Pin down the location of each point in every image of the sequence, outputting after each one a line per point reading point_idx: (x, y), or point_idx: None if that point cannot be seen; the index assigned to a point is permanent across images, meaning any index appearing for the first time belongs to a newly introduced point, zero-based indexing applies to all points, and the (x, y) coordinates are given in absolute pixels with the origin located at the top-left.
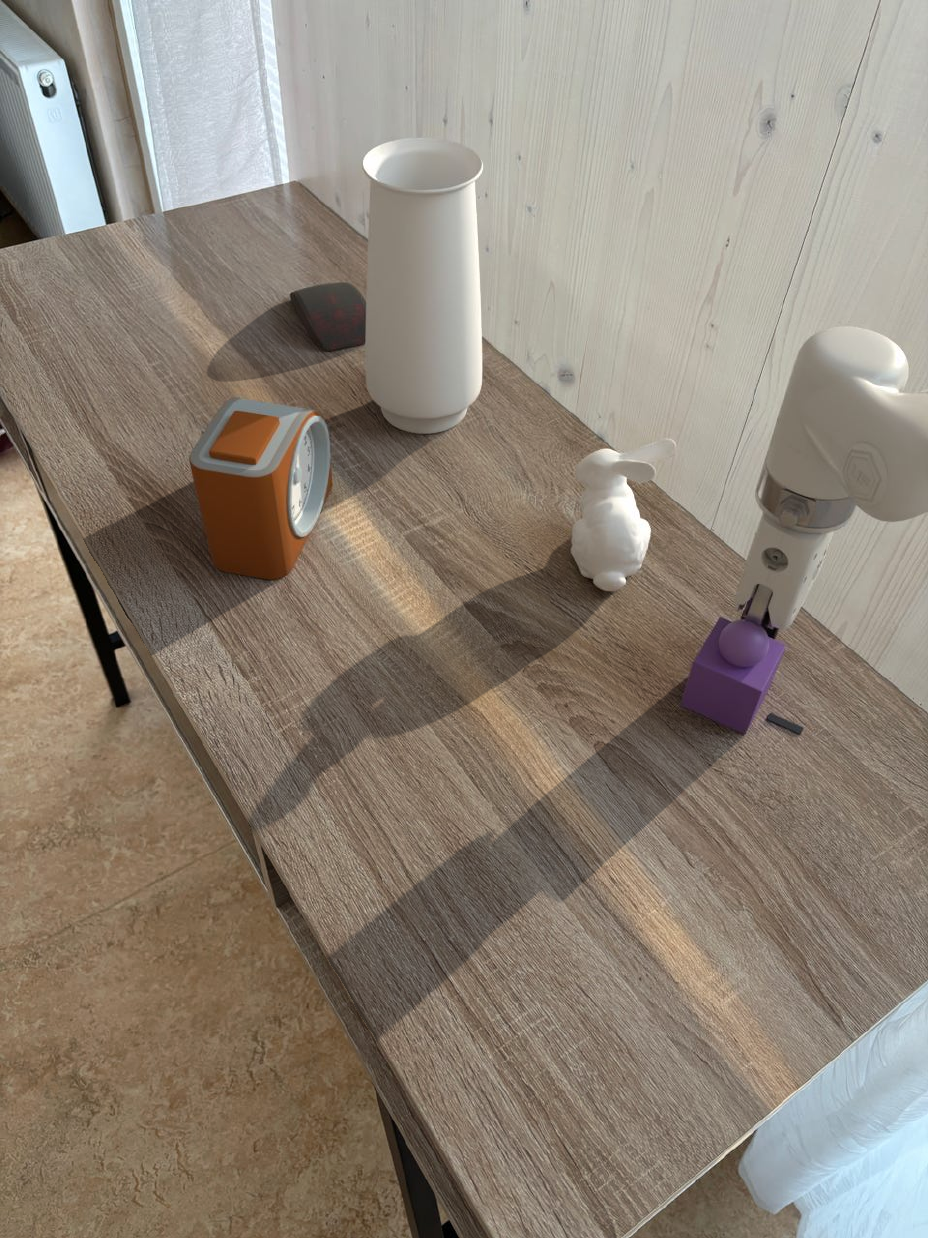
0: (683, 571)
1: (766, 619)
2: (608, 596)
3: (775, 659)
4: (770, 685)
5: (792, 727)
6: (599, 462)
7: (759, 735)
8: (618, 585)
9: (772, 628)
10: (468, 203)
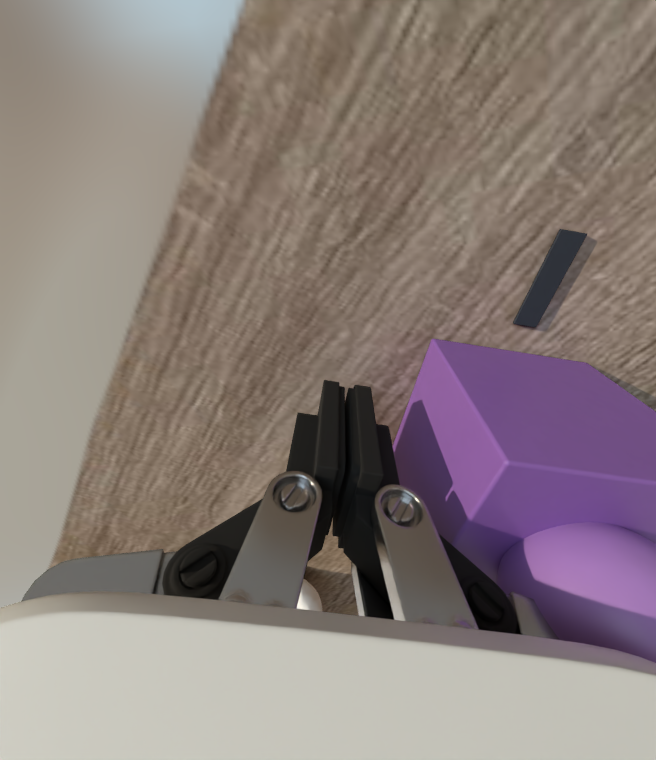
0: (194, 509)
1: (512, 633)
2: (308, 567)
3: (600, 485)
4: (441, 346)
5: (560, 261)
6: None
7: (585, 333)
8: (313, 603)
9: (424, 505)
10: None
